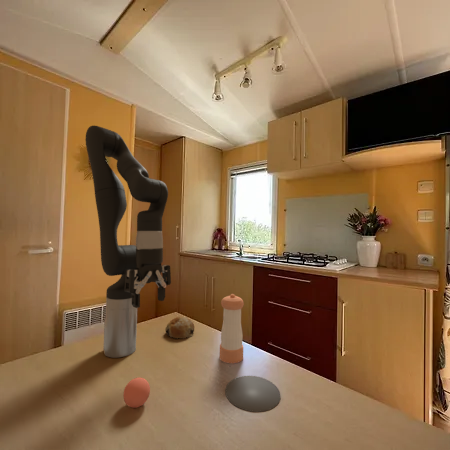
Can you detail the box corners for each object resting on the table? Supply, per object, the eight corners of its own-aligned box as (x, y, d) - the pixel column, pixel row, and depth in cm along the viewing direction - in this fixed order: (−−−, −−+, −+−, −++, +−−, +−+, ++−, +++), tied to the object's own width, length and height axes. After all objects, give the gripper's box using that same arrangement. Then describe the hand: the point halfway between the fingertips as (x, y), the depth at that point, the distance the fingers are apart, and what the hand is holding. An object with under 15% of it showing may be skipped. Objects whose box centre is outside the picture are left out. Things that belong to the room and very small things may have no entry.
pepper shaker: (231, 349, 82) (232, 290, 82) (248, 357, 76) (249, 294, 77) (214, 356, 76) (215, 293, 77) (231, 366, 71) (233, 298, 72)
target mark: (214, 395, 58) (214, 394, 58) (243, 371, 69) (243, 370, 69) (265, 420, 51) (265, 419, 51) (288, 388, 62) (288, 388, 62)
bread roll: (182, 351, 88) (192, 331, 87) (158, 335, 90) (168, 315, 89) (192, 339, 97) (201, 321, 97) (170, 325, 99) (178, 307, 99)
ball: (117, 406, 54) (118, 380, 54) (139, 393, 59) (140, 369, 59) (133, 418, 51) (134, 390, 51) (154, 403, 55) (155, 377, 56)
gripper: (160, 245, 80) (160, 297, 80) (119, 247, 69) (118, 307, 68) (176, 246, 76) (176, 300, 75) (136, 248, 64) (135, 312, 64)
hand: (149, 303), depth 72 cm, fingers open, 8 cm apart
